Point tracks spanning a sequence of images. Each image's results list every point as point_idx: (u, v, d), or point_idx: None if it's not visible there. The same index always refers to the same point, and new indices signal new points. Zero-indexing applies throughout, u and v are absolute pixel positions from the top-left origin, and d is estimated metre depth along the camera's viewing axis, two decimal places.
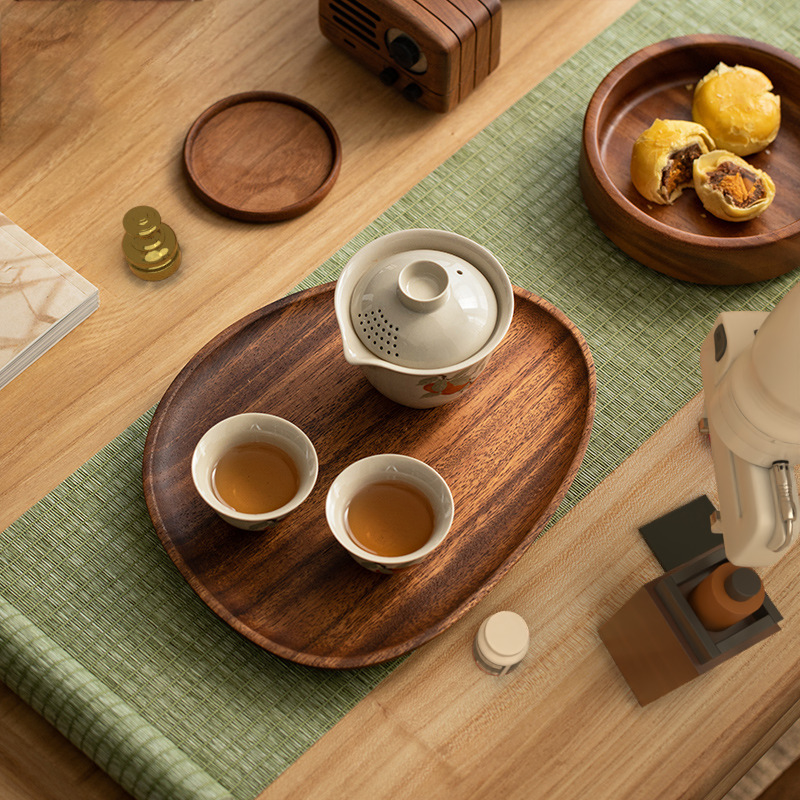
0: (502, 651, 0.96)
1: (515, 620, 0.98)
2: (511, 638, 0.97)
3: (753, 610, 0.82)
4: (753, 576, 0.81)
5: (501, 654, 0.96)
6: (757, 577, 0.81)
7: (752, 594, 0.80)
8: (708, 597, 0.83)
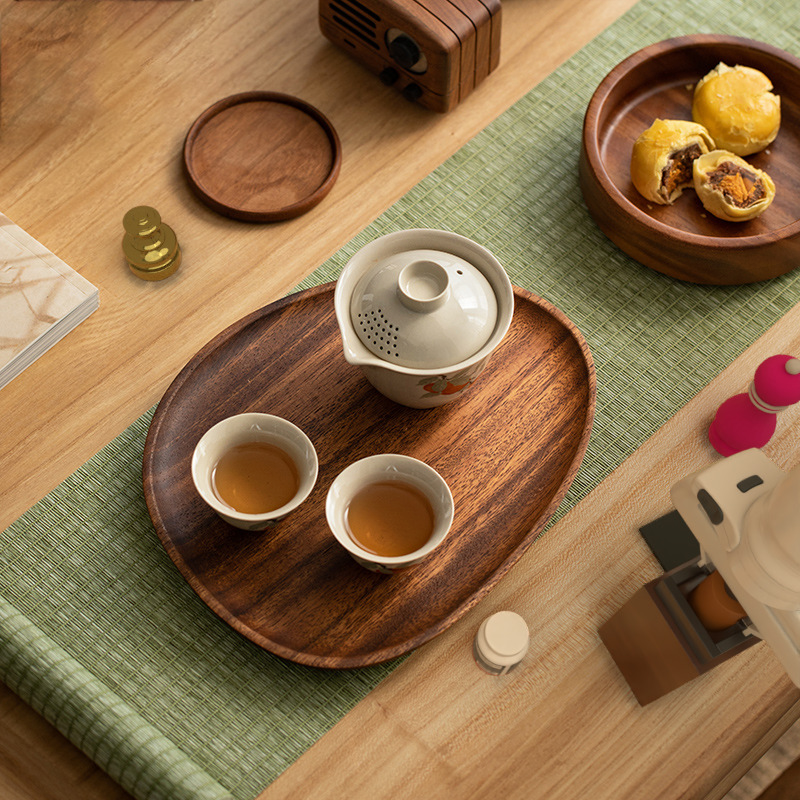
0: (502, 651, 0.96)
1: (515, 620, 0.98)
2: (510, 638, 0.97)
3: None
4: None
5: (501, 654, 0.96)
6: None
7: None
8: (708, 597, 0.83)
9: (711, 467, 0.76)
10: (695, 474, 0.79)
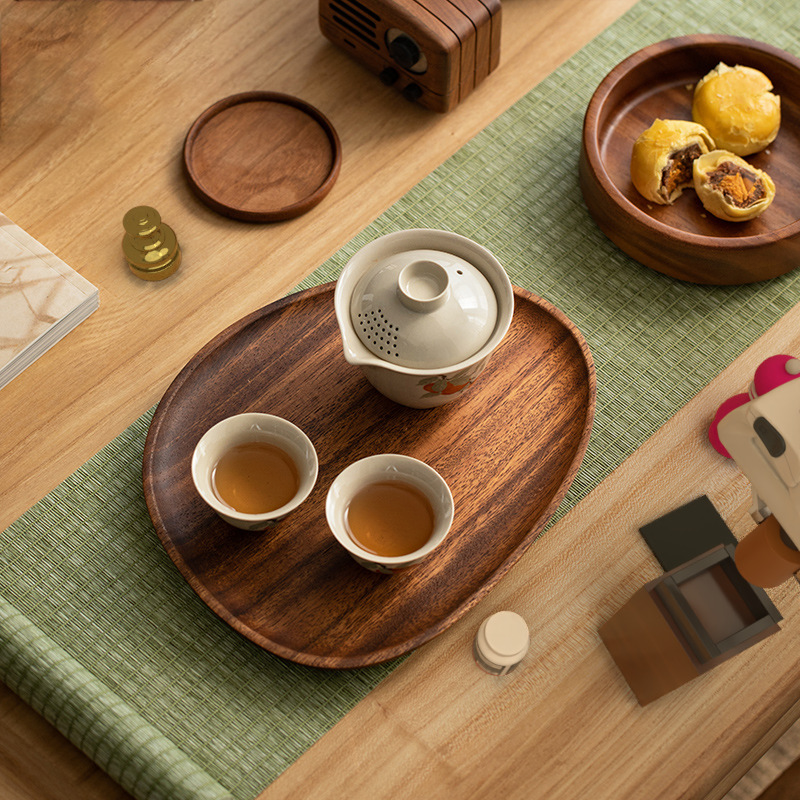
0: (502, 651, 0.96)
1: (515, 620, 0.98)
2: (510, 638, 0.97)
3: None
4: None
5: (501, 654, 0.96)
6: None
7: None
8: (760, 547, 0.74)
9: (769, 392, 0.66)
10: (749, 403, 0.69)
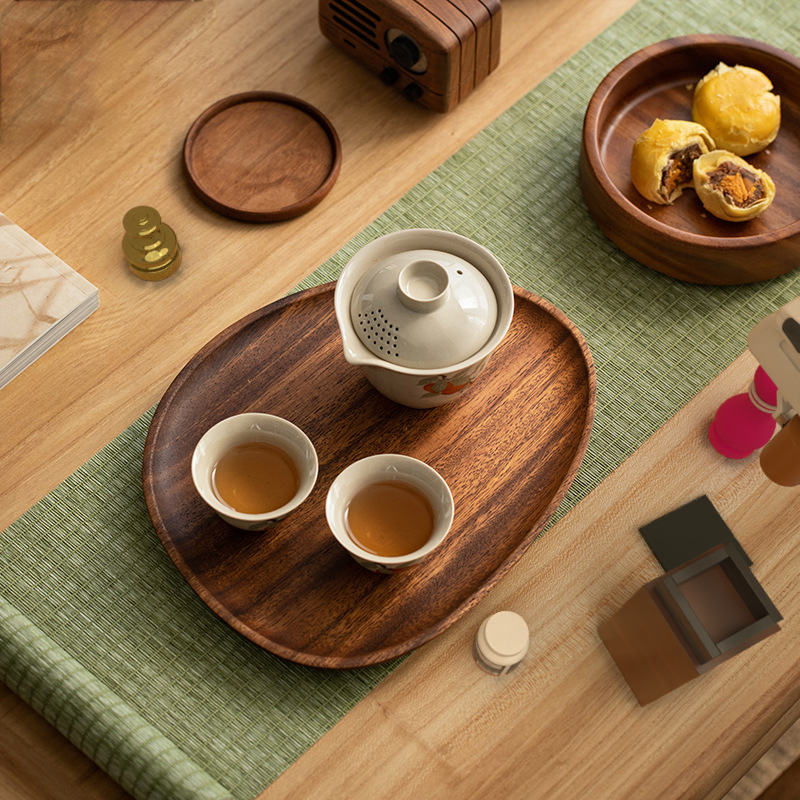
0: (502, 651, 0.96)
1: (515, 620, 0.98)
2: (510, 638, 0.97)
3: None
4: None
5: (501, 654, 0.96)
6: None
7: None
8: (785, 444, 0.83)
9: (796, 298, 0.75)
10: None
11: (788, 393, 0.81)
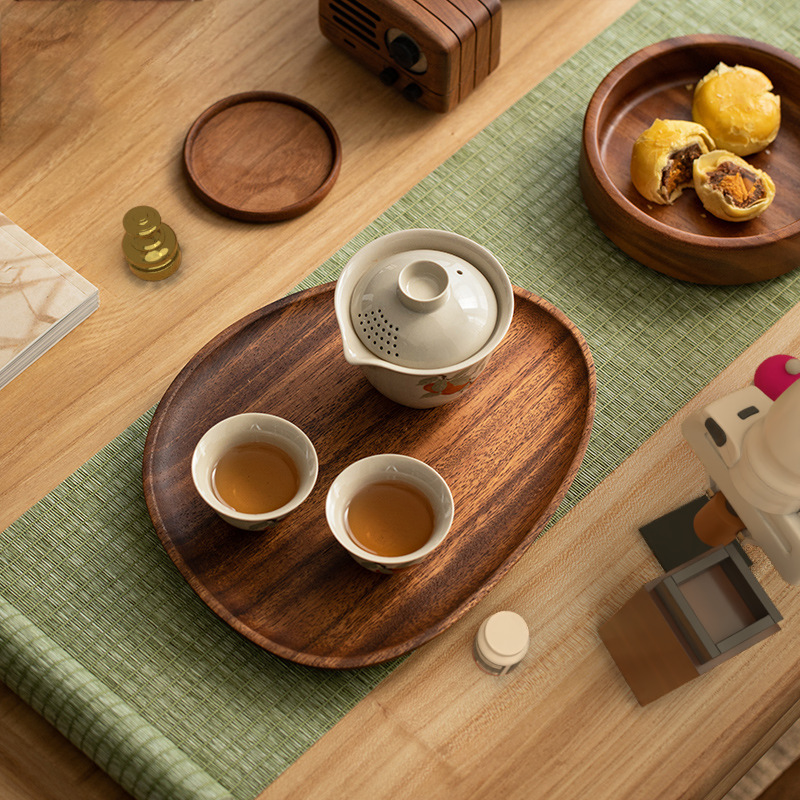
0: (502, 651, 0.96)
1: (515, 620, 0.98)
2: (511, 638, 0.97)
3: None
4: None
5: (501, 654, 0.96)
6: None
7: None
8: (711, 514, 1.00)
9: (716, 400, 0.92)
10: (702, 408, 0.95)
11: (713, 473, 0.97)
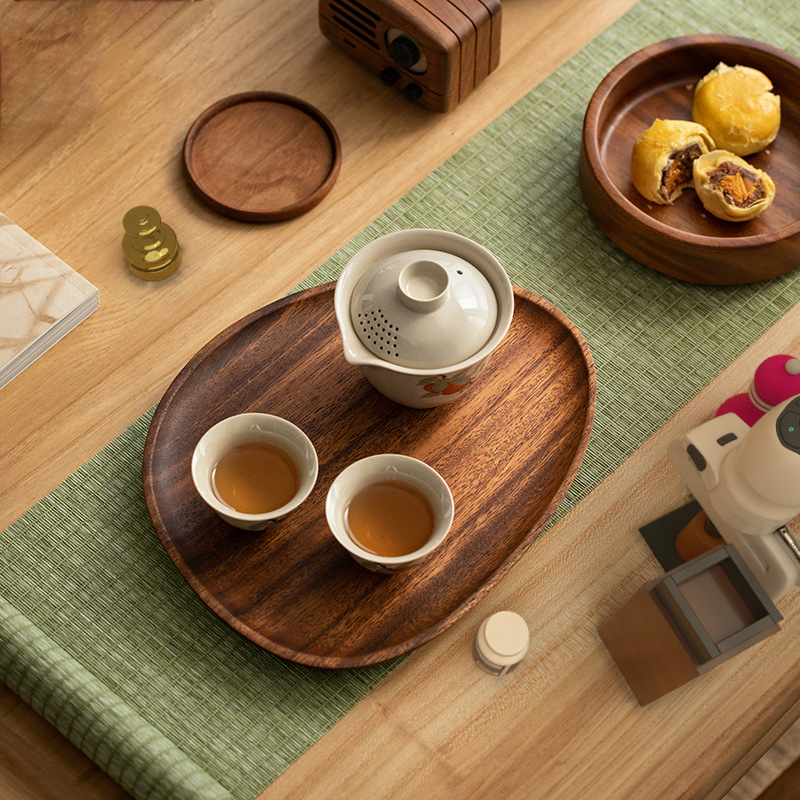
0: (502, 651, 0.96)
1: (515, 620, 0.98)
2: (510, 638, 0.97)
3: (726, 545, 1.05)
4: None
5: (501, 654, 0.96)
6: None
7: None
8: (691, 535, 1.07)
9: (697, 427, 0.98)
10: (685, 434, 1.01)
11: (697, 495, 1.03)
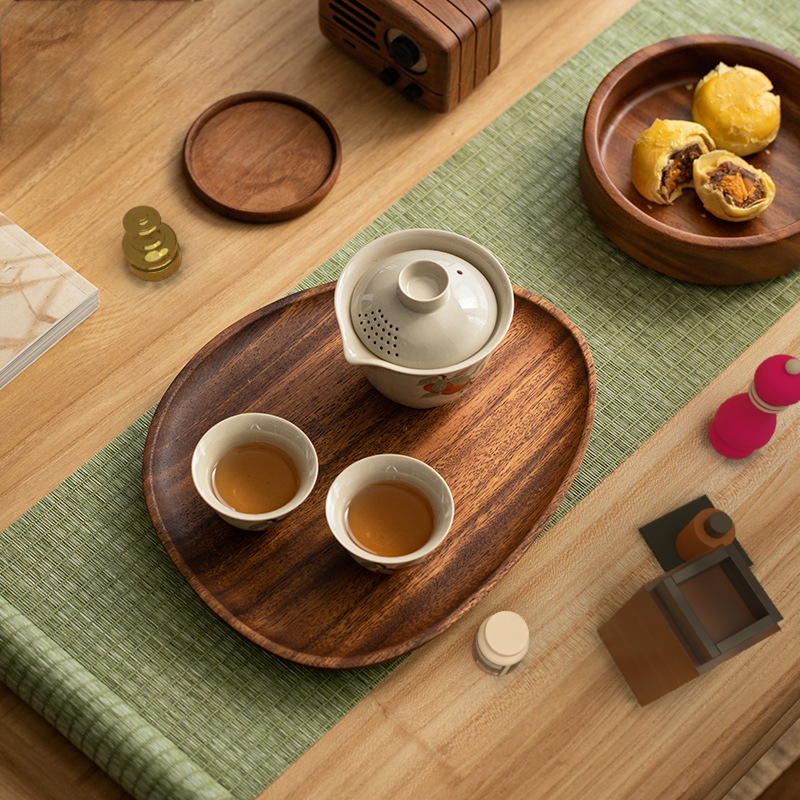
0: (502, 651, 0.96)
1: (515, 620, 0.98)
2: (511, 638, 0.97)
3: (726, 545, 1.05)
4: (726, 518, 1.04)
5: (501, 654, 0.96)
6: (729, 518, 1.04)
7: (725, 531, 1.03)
8: (691, 535, 1.07)
9: None
10: None
11: None
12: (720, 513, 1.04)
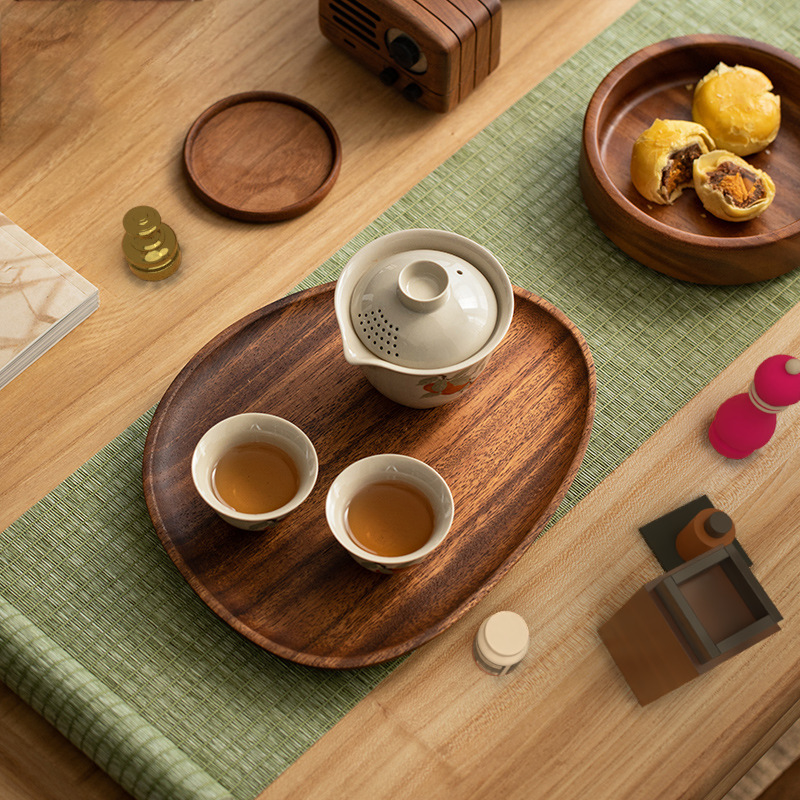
0: (502, 651, 0.96)
1: (515, 620, 0.98)
2: (510, 638, 0.97)
3: (726, 545, 1.05)
4: (726, 518, 1.04)
5: (501, 654, 0.96)
6: (729, 518, 1.04)
7: (725, 531, 1.03)
8: (691, 535, 1.07)
9: None
10: None
11: None
12: (720, 513, 1.04)
